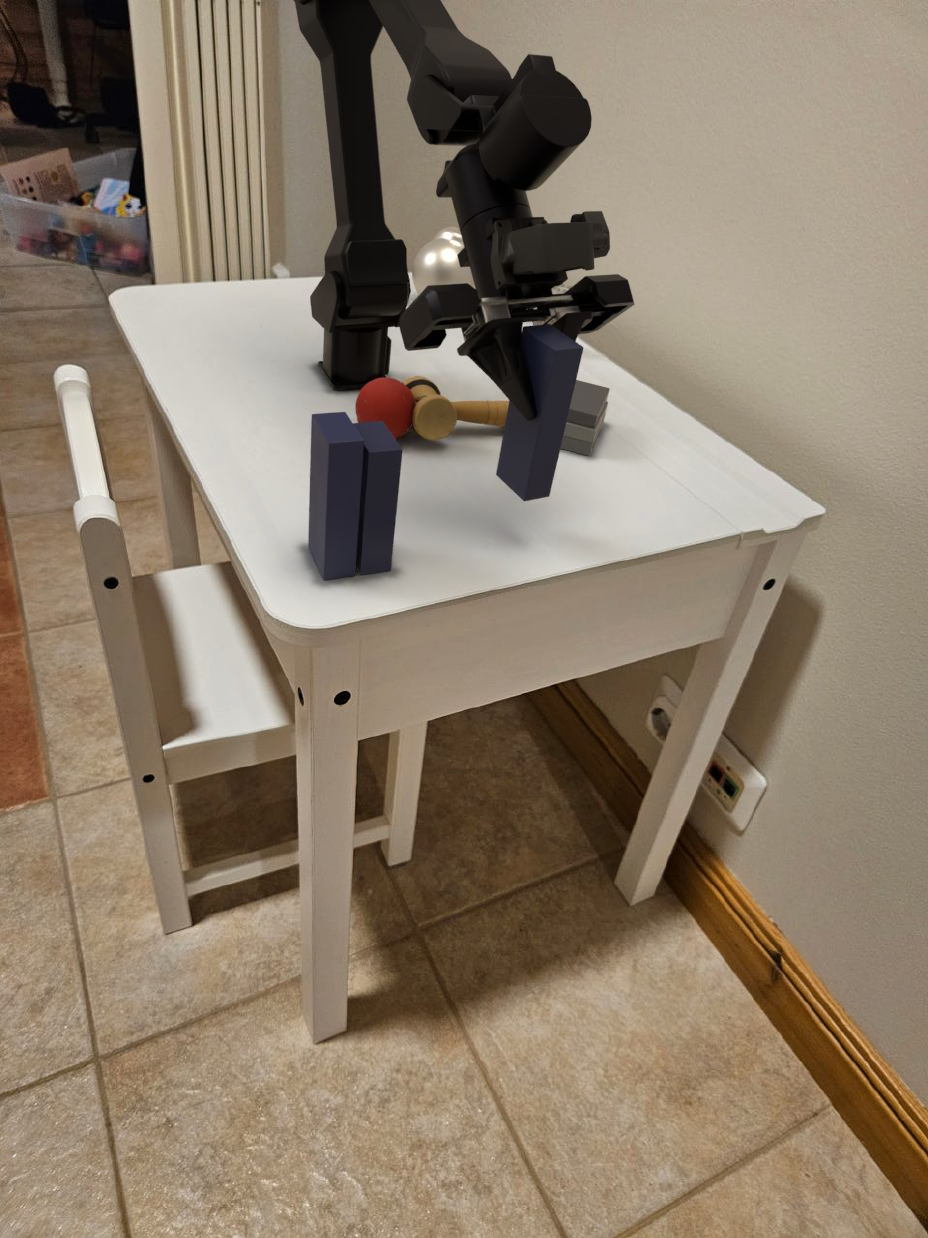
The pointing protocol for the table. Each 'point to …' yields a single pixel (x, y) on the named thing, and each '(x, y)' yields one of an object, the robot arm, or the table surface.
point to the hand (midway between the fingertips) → (547, 416)
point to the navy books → (352, 495)
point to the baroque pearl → (441, 262)
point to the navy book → (540, 413)
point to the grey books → (585, 417)
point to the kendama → (422, 408)
